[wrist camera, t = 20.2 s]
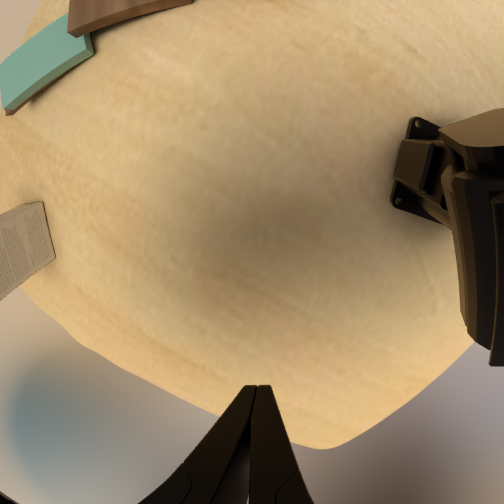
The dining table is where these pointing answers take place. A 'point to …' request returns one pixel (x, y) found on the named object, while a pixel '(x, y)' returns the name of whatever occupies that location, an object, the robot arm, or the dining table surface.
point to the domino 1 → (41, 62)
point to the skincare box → (23, 245)
